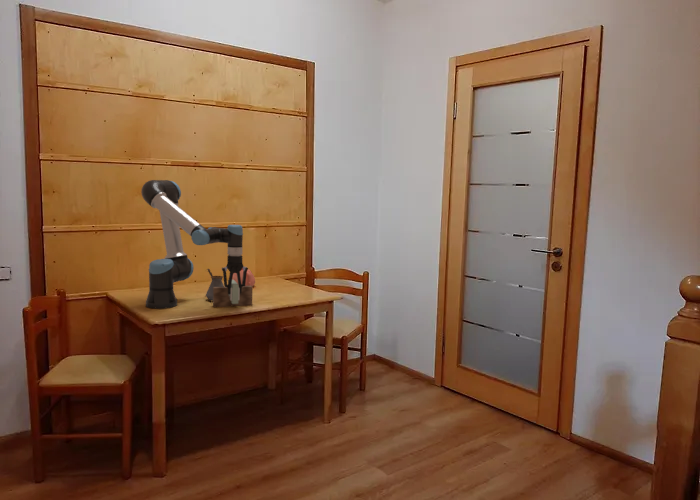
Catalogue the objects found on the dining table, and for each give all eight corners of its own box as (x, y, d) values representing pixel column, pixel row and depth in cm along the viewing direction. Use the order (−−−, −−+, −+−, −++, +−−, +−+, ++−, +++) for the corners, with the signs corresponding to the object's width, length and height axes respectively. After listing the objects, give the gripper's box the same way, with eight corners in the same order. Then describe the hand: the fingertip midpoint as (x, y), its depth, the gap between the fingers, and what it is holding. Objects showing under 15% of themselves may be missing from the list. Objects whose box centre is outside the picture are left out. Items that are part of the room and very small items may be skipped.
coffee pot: (230, 301, 288) (230, 274, 286) (209, 302, 282) (209, 275, 280) (217, 293, 306) (217, 267, 304) (197, 294, 300) (197, 268, 298)
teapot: (221, 284, 332) (222, 264, 330) (243, 282, 342) (244, 263, 340) (238, 290, 315) (239, 270, 314) (261, 288, 325) (262, 268, 324)
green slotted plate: (232, 303, 271) (232, 284, 270) (227, 298, 284) (228, 279, 282) (238, 303, 272) (238, 284, 271) (233, 297, 285) (233, 279, 284)
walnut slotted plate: (213, 307, 273) (213, 288, 272) (212, 305, 276) (213, 287, 275) (252, 305, 281) (252, 286, 279) (250, 303, 283) (251, 285, 282)
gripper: (220, 256, 264) (219, 302, 267) (252, 255, 270) (251, 300, 273) (217, 254, 271) (217, 299, 274) (249, 253, 277) (248, 297, 280)
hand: (234, 299), depth 273 cm, fingers closed on green slotted plate, 3 cm apart
